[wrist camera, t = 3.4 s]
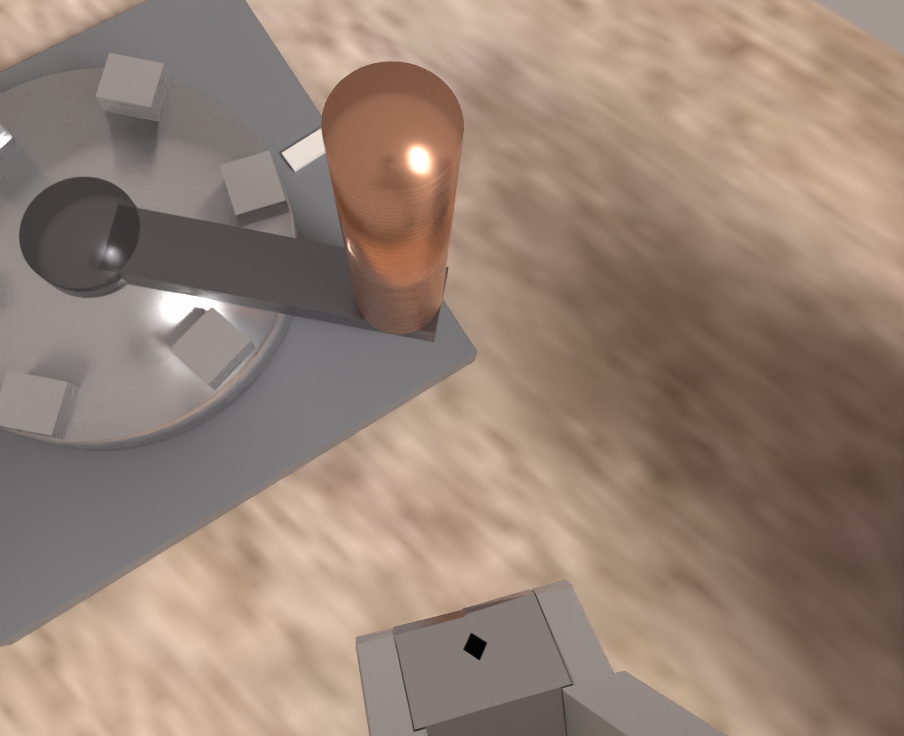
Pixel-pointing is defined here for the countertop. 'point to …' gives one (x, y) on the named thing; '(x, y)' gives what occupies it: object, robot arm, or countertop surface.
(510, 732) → the robot arm
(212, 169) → the crank turntable
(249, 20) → the base plate
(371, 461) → the countertop surface
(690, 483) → the countertop surface
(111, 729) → the countertop surface
